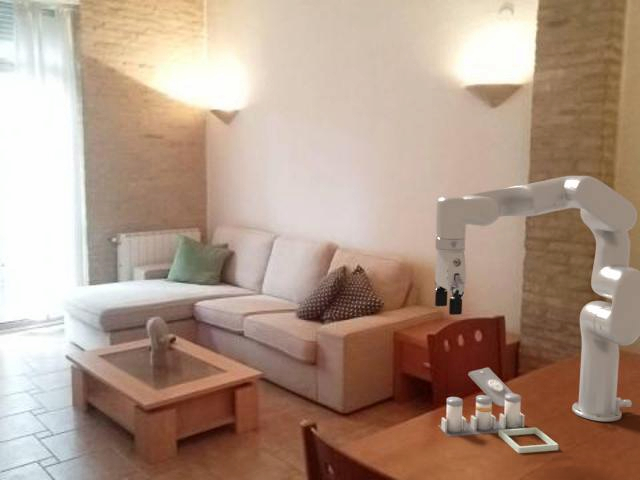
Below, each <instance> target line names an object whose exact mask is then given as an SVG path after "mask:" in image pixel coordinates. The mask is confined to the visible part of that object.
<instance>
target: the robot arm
mask: <svg viewBox="0 0 640 480" xmlns="http://www.w3.org/2000/svg"><path fill="white" fill-rule="evenodd" d="M568 209H579V210H580V218H581V220H582V223H584V225H586V226H587V227H588V229H590V231H591V233H592V234H593V236H594V239H595V255H594V261H593V267H592V273H591V280H590V282H591V283H590V284H591V289H592V290H593V292H594V293H596V294H597V295H599V296H601V297H603V298H606V299H609V300H611V303H610V302H606V301H603V300H595V301H594V300H593V301H590V302H588V303H586V304H585V305H584V306H583V307H582V309H581V311H580V314H579V328H580V337H581V352H580V353H581V355H580V372H579V375H580V376H579V386H578V387H579V389H578V390H579V391H578V392H579V393H578V402H574V403H573V404H572V406H571V407H572V412H574V414H575V415H577V416H579V417H581V418H584V419H587V420H589V421H590V420H591V421H596V422H615V421H619V420H620V419H622V415H623V414H622V411H621V410H620V409H622V408H627V407H628V408H629V407H632V405H633V404H632V403H633V402H632V401H631V400H630V399H622V398H621V397H617V393H618V377H619V376H618V375H619V362H620V348H619V346H629V345H631V344H634V343H635V342H636V341H637V340H638V339H639V337H640V270H639V269H636V268H634V267H630V255H631V240H630V236H629V233H628V231H630V230H631V229H633V227H634V226H635V225H636V224H637V223H636V222H637V219H638V212H637V209H636V208H635V205H633V204H632V202H631V201H629V200H628V199H627V198H625V197H624V196H622V194H620V193H619V192H617V191H615V190H614V189H613V188H612V187H609V185H607V184H605V183H604V182H602V181H601V180H599V178H595V177H593V176H590V175H589V176H588V175H566V176H561V177H556V178H550V179H546V180H542V181H536V182H531V183H525V184H521V185H520V184H519V185H513V186H510V187H509V186H508V187H505V188H499V189H491V190H485V191H482V192H476V193H471V194H470V193H469V194H467V195H464V196H462V197H461V196H441V197H439V198H438V199H437V201H436V213H435V215H436V217H435V245H434V246H435V247H434V248H435V251H436V256H435V257H436V259H435V268H434V271H435V272H434V278H435V279H434V280H435V281H434V284H435V287H434V290H435V291H434V292H435V295H434V296H435V297H434V300H435V301H434V306H435V307H446V306H448V305H449V306H448V307H449V308H448V313H449V315H452V316H455V315H462V314H463V313H462V312H463V311H462V310H463V299H464V296H463V295H464V293H465V292H464V290H465V289H466V287H467V286H466V284H467V281H466V280H467V277H466V276H467V275H466V274H467V272H466V271H467V270H466V269H467V268H466V267H467V266H466V257H465V251H466V233H467V232H466V229H467V225H470V226H471V225H473V226H480V227H487V226H488V227H489V226H490V225H492V224H494V223H496V221H498V219H499V217H500V218H501V217H520V218H521V217H524V218H525V217H534V216H539V215H544V214H548V213H552V212H556V211H564V210H568ZM448 291H449V295H450V298H449V302H448ZM448 303H449V304H448Z"/></svg>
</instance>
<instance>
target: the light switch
mask: <svg viewBox="0 0 640 480" xmlns="http://www.w3.org/2000/svg"><path fill="white" fill-rule="evenodd" d="M467 375H468V376H469V377H470V379H471V380H472V381H473V382H474V383H475V384H476V385H477V387H479V388H480V390H482V391H483V393H484V395H486V396H490V397H491V398H492V403H493V404H494V405H496V406H499V407H505V394H508V393H514V392H513V391H512V390H511V389H510V388H509V387H508V386H507V385H506V384H505V383H504V382H503V381H502V379H500V377H498V376H497V374H496V373H494V372H493V370H491V368H490V367H484V368H481V369H476V370H472V371H469V372H468V374H467Z"/></svg>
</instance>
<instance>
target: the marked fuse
mask: <svg viewBox="0 0 640 480" xmlns="http://www.w3.org/2000/svg"><path fill="white" fill-rule="evenodd" d="M492 410H493V401H492V398H491V397H490V396H487V395H486V394H479V395H477V396H475V418H477V429H478V430H481V431H489V430H491V414H492Z"/></svg>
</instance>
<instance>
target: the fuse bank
mask: <svg viewBox="0 0 640 480" xmlns="http://www.w3.org/2000/svg"><path fill="white" fill-rule="evenodd" d="M521 402H522V396H521V395H520V394H518V393H514V392H513V393H508V394H505V405H504V412H503V413H504V414H503V413H499V420H497V417H496V415H493V414H492V413H491V430H489V431H481V430H478V429H477V418H476V416H475V415H470V422H468V421H467V419H466V417H464V416H463V403H464V400H463V399H462V398H461V397H457V396H450V397H447V398H446V415H445V417H441V424H437V426H438V427H439V429H440V430H441V431H442V432H443V433H444V434H445V435H446V437H450V438H451V437H460V436H473V435H487V434H499V430H507V429H521V428H527V427H526V426H525V419H526V418H525V416H526V415H525V414H523V413H522V412H521V404H522V403H521Z"/></svg>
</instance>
